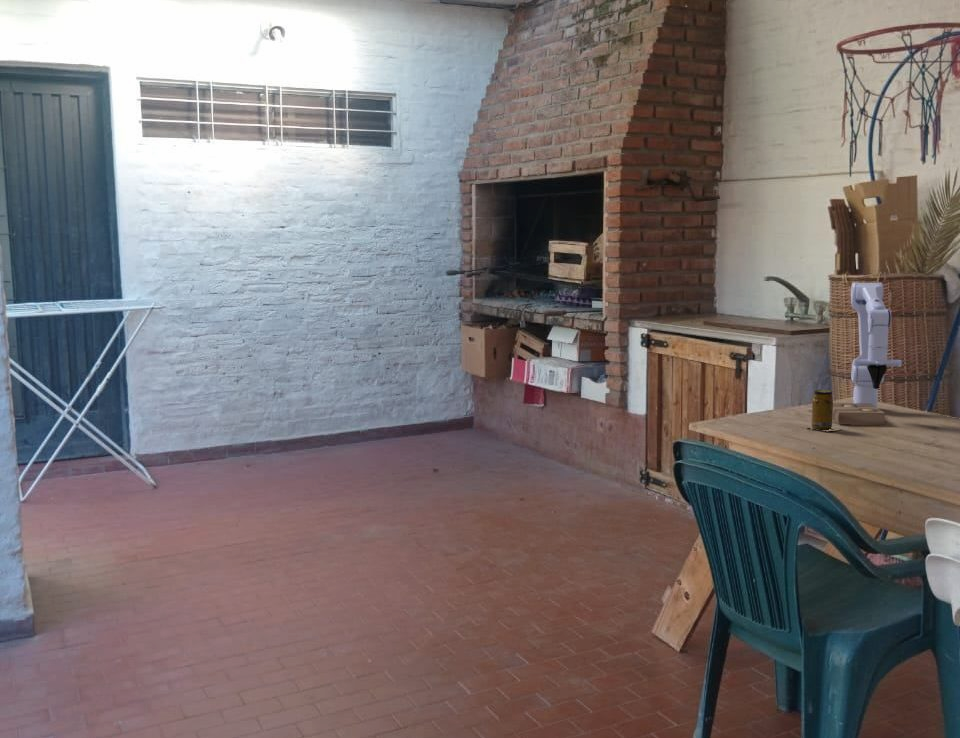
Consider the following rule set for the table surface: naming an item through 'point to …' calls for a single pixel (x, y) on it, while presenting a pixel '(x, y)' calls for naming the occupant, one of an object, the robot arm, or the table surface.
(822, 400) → the condiment
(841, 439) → the table surface
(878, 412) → the board
